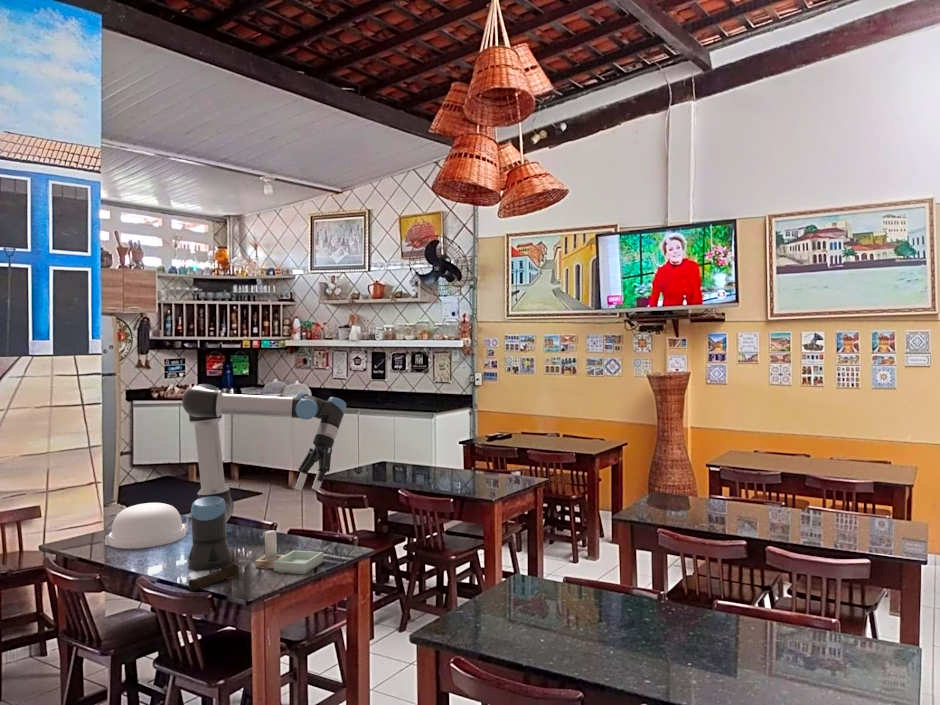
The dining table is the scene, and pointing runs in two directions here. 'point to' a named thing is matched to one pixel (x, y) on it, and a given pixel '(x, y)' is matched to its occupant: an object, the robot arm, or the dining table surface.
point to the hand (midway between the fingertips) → (306, 489)
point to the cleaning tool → (270, 545)
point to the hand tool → (214, 577)
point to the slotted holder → (266, 562)
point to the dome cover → (146, 526)
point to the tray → (298, 562)
